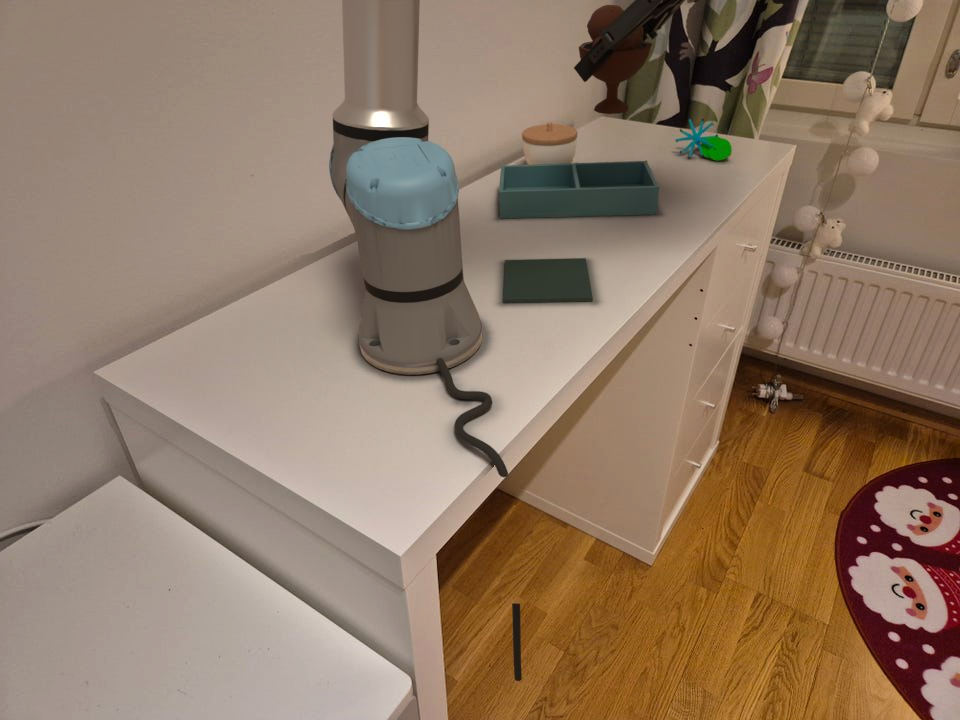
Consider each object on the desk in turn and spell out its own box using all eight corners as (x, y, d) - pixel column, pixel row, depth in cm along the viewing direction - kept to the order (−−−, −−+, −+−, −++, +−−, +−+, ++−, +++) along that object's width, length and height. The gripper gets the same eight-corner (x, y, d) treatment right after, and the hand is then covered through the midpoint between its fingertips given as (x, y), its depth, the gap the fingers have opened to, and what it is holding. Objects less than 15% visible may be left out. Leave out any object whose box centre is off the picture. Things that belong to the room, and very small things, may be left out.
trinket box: (513, 176, 130) (512, 128, 125) (535, 160, 138) (535, 113, 132) (564, 182, 126) (565, 132, 120) (583, 165, 133) (585, 117, 128)
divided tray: (656, 214, 111) (659, 186, 108) (499, 218, 113) (499, 191, 110) (644, 186, 122) (646, 160, 119) (501, 190, 124) (501, 165, 121)
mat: (592, 301, 88) (592, 297, 88) (503, 303, 89) (503, 299, 88) (585, 261, 98) (585, 257, 97) (505, 263, 99) (504, 259, 98)
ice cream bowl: (627, 121, 99) (636, 10, 91) (564, 113, 105) (566, 7, 96) (657, 105, 106) (668, 0, 98) (596, 98, 112) (601, -1, 103)
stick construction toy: (666, 144, 135) (689, 109, 133) (673, 155, 141) (695, 122, 139) (717, 170, 130) (741, 135, 128) (721, 180, 136) (745, 147, 134)
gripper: (696, -19, 79) (576, 103, 96) (752, -35, 95) (641, 72, 111) (659, -70, 79) (545, 61, 95) (722, -78, 94) (614, 36, 111)
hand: (597, 67), depth 103 cm, fingers closed on ice cream bowl, 11 cm apart
